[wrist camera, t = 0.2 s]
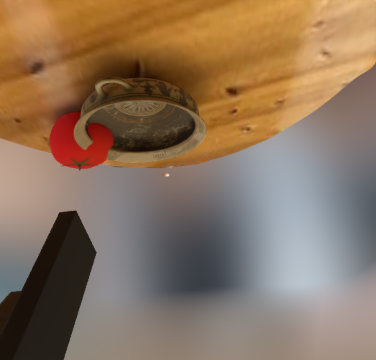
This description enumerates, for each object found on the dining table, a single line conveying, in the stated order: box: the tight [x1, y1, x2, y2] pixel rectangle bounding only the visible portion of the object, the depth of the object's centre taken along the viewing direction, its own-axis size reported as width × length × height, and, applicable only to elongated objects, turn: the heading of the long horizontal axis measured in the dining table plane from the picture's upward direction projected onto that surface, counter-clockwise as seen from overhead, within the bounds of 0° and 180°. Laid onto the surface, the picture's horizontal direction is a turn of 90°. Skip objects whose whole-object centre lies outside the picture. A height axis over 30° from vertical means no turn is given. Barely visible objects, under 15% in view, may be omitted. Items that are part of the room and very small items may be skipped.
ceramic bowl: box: [74, 76, 207, 163], centre depth 63 cm, size 30×24×10 cm
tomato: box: [50, 112, 114, 170], centre depth 69 cm, size 12×13×11 cm
